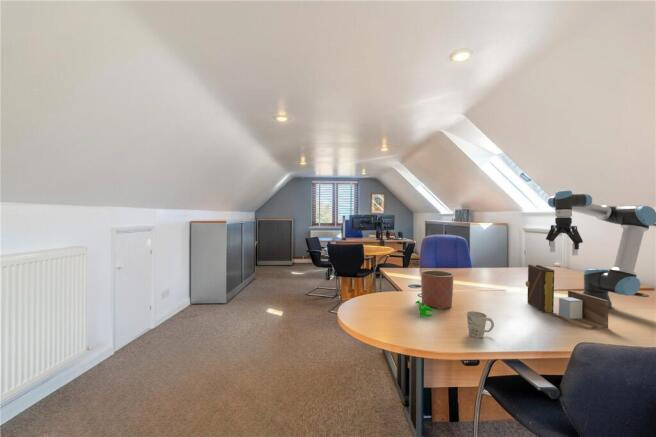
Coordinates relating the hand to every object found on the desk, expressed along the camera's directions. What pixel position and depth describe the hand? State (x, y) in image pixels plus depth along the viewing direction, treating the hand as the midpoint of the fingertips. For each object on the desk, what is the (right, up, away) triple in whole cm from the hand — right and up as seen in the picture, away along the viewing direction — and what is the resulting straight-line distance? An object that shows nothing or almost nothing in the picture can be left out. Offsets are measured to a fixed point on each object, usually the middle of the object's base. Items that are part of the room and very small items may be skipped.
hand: (563, 253), depth 170 cm
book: (-6, -35, +11) cm, 37 cm away
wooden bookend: (-3, -35, -13) cm, 37 cm away
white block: (-4, -34, -10) cm, 35 cm away
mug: (-66, -35, -33) cm, 81 cm away
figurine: (-84, -34, -8) cm, 91 cm away
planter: (-69, -34, +13) cm, 78 cm away
